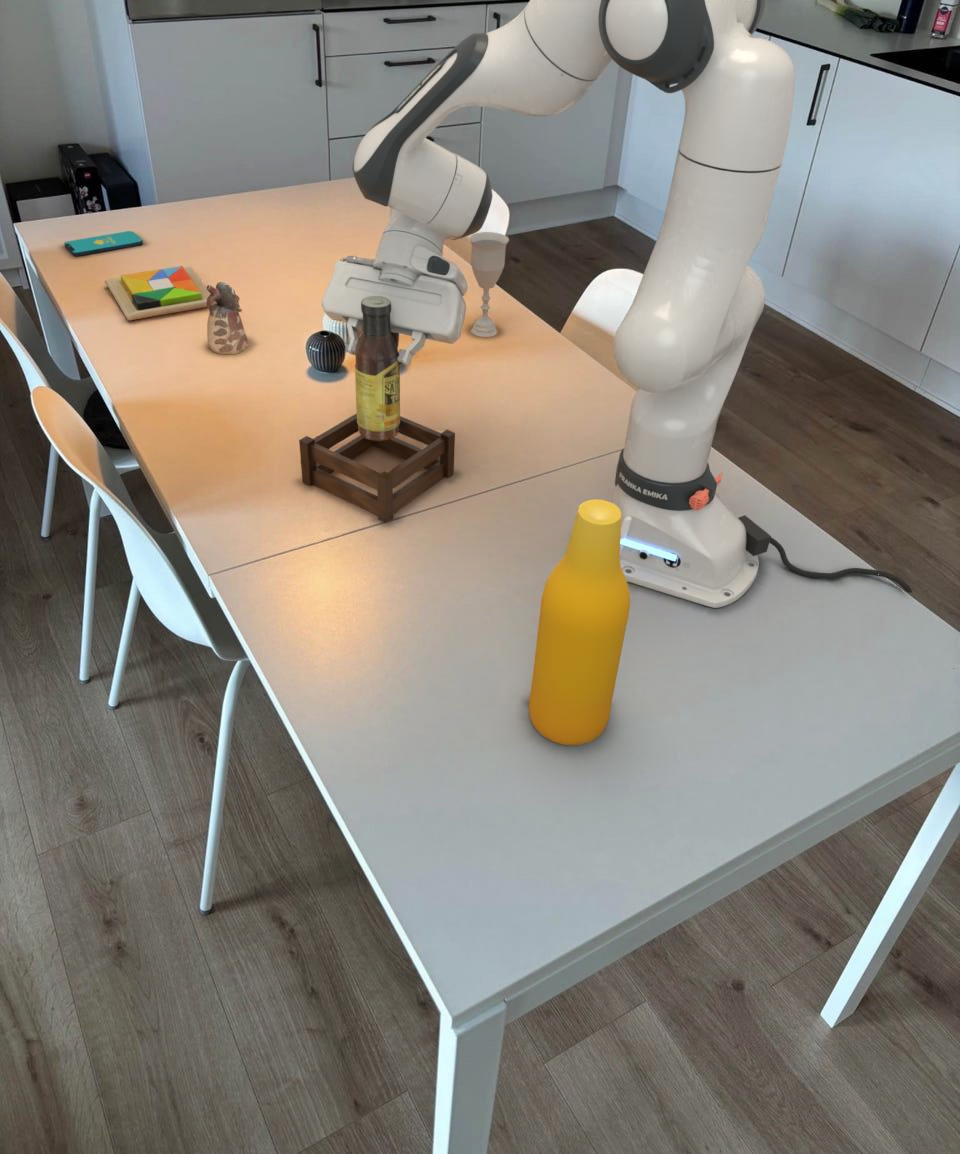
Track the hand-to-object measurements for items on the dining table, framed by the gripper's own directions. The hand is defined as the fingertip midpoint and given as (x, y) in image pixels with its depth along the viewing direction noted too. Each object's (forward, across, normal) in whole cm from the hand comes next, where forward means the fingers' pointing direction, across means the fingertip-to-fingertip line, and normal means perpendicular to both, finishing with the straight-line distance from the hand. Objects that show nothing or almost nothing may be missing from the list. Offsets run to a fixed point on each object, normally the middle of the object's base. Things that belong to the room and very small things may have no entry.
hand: (378, 359), depth 135 cm
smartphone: (-27, -92, +54) cm, 111 cm away
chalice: (-24, -3, +52) cm, 58 cm away
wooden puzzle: (-15, -66, +42) cm, 80 cm away
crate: (+14, 0, +14) cm, 20 cm away
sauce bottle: (+8, 0, +8) cm, 12 cm away
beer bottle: (+40, +40, -11) cm, 57 cm away
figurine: (-6, -44, +33) cm, 55 cm away
